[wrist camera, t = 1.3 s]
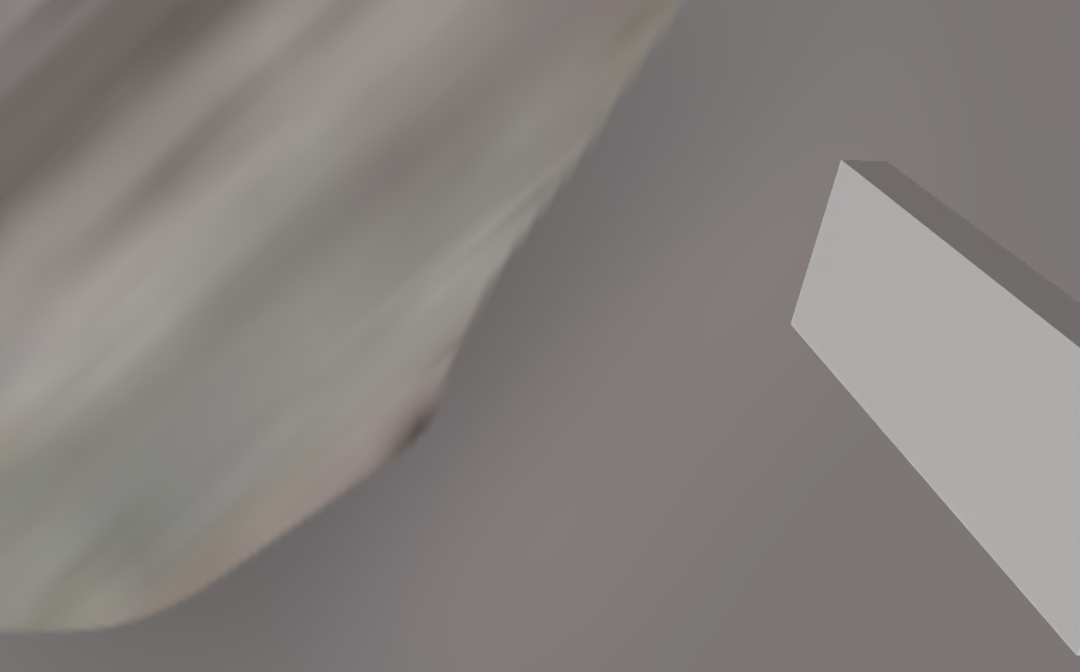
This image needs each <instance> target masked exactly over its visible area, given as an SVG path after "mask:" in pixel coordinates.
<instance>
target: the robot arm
mask: <svg viewBox="0 0 1080 672" xmlns="http://www.w3.org/2000/svg"><path fill="white" fill-rule="evenodd" d="M791 325H792V326H793V327H794V329H795V330H796V331H797V332H798V333H799V334H800V336H801V337H802V338H803V339H804V340H805V341H806V343H807V344H808V345H809V346H810V347H811V348H812V349H813V351H814V352H815V353H816V354H817V355H818V356H819V358H820V359H821V360H822V361H823V362H824V363H825V364H826V366H827V367H828V368H829V369H830V370H831V372H832V373H833V374H834V375H835V376H836V377H837V378H838V379H839V381H840V382H841V383H842V384H843V385H844V386H845V387H846V389H847V390H848V391H849V392H850V393H851V395H852V396H853V397H854V398H855V399H856V400H857V402H858V403H859V404H860V405H861V406H862V407H863V409H864V410H865V411H866V412H867V413H868V414H869V415H870V417H871V418H872V419H873V420H874V421H875V422H876V424H877V425H878V426H879V427H880V428H881V429H882V431H883V432H884V433H885V434H886V435H887V436H888V437H889V439H890V440H891V441H892V442H893V443H894V444H895V446H896V447H897V448H898V449H899V450H900V451H901V453H902V454H903V455H904V456H905V457H906V458H907V459H908V461H909V462H910V463H911V464H912V465H913V466H914V468H915V469H916V470H917V471H918V472H919V473H920V475H921V476H922V477H923V478H924V479H925V480H926V481H927V483H928V484H929V485H930V486H931V487H932V488H933V490H934V491H935V492H936V493H937V494H938V495H939V497H940V498H941V499H942V500H943V501H944V502H945V503H946V505H947V506H948V507H949V508H950V509H951V510H952V512H953V513H954V514H955V515H956V516H957V517H958V518H959V520H960V521H961V522H962V523H963V524H964V526H965V527H966V528H967V529H968V530H969V531H970V532H971V533H972V535H973V536H974V537H975V538H976V539H977V541H978V542H979V543H980V544H981V545H982V546H983V548H984V549H985V550H986V551H987V552H988V553H989V555H990V556H991V557H992V558H993V559H994V560H995V561H996V563H997V564H998V565H999V566H1000V567H1001V568H1002V570H1003V571H1004V572H1005V573H1006V574H1007V575H1008V577H1009V578H1010V579H1011V580H1012V581H1013V582H1014V583H1015V584H1016V586H1017V587H1018V588H1019V589H1020V590H1021V591H1022V593H1023V594H1024V595H1025V596H1026V597H1027V599H1028V600H1029V601H1030V602H1031V603H1032V604H1033V605H1034V607H1035V608H1036V609H1037V610H1038V611H1039V612H1040V614H1041V615H1042V616H1043V617H1044V618H1045V619H1046V621H1047V622H1048V623H1049V624H1050V625H1051V626H1052V627H1053V629H1054V630H1055V631H1056V632H1057V633H1058V634H1059V636H1060V637H1061V638H1062V639H1063V640H1064V641H1065V643H1066V644H1067V645H1068V646H1069V647H1070V648H1071V649H1072V650H1073V652H1074V653H1075V654H1076V655H1080V303H1079V302H1077V301H1076V300H1075V299H1073V298H1072V297H1071V296H1069V295H1068V294H1067V293H1065V292H1064V291H1063V290H1061V289H1059V287H1057V286H1056V285H1054V284H1053V283H1052V282H1050V281H1049V280H1048V279H1046V278H1045V277H1043V276H1042V275H1041V274H1039V273H1038V272H1037V271H1035V270H1034V269H1033V268H1031V267H1030V266H1028V265H1027V264H1026V263H1025V262H1023V261H1022V260H1020V259H1019V258H1018V257H1016V256H1015V255H1014V254H1012V253H1011V252H1010V251H1008V250H1007V249H1005V248H1004V247H1003V246H1001V245H1000V244H999V243H997V242H996V241H995V240H993V239H992V238H990V237H989V236H988V235H986V234H985V233H984V232H982V231H981V230H980V229H978V228H977V227H975V226H974V225H973V224H971V223H970V222H969V221H967V220H966V219H965V218H963V217H962V216H961V215H959V214H958V213H956V212H955V211H954V210H952V209H951V208H950V207H948V206H947V205H945V204H944V203H943V202H941V201H940V200H939V199H937V198H936V197H935V196H933V195H932V194H931V193H929V192H928V191H926V190H925V189H924V188H923V187H921V186H920V185H918V184H917V183H916V182H914V181H913V180H912V179H910V178H909V177H907V176H906V175H905V174H904V173H902V172H901V171H899V170H898V169H897V168H895V167H894V166H893V165H891V164H890V163H888V162H883V161H860V160H841V163H840V166H839V169H838V172H837V175H836V179H835V182H834V185H833V189H832V192H831V195H830V198H829V201H828V204H827V208H826V211H825V214H824V218H823V221H822V224H821V228H820V230H819V234H818V237H817V240H816V244H815V247H814V250H813V253H812V256H811V260H810V263H809V266H808V269H807V273H806V276H805V279H804V282H803V286H802V289H801V292H800V295H799V299H798V302H797V305H796V308H795V312H794V315H793V318H792V321H791Z"/></svg>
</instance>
